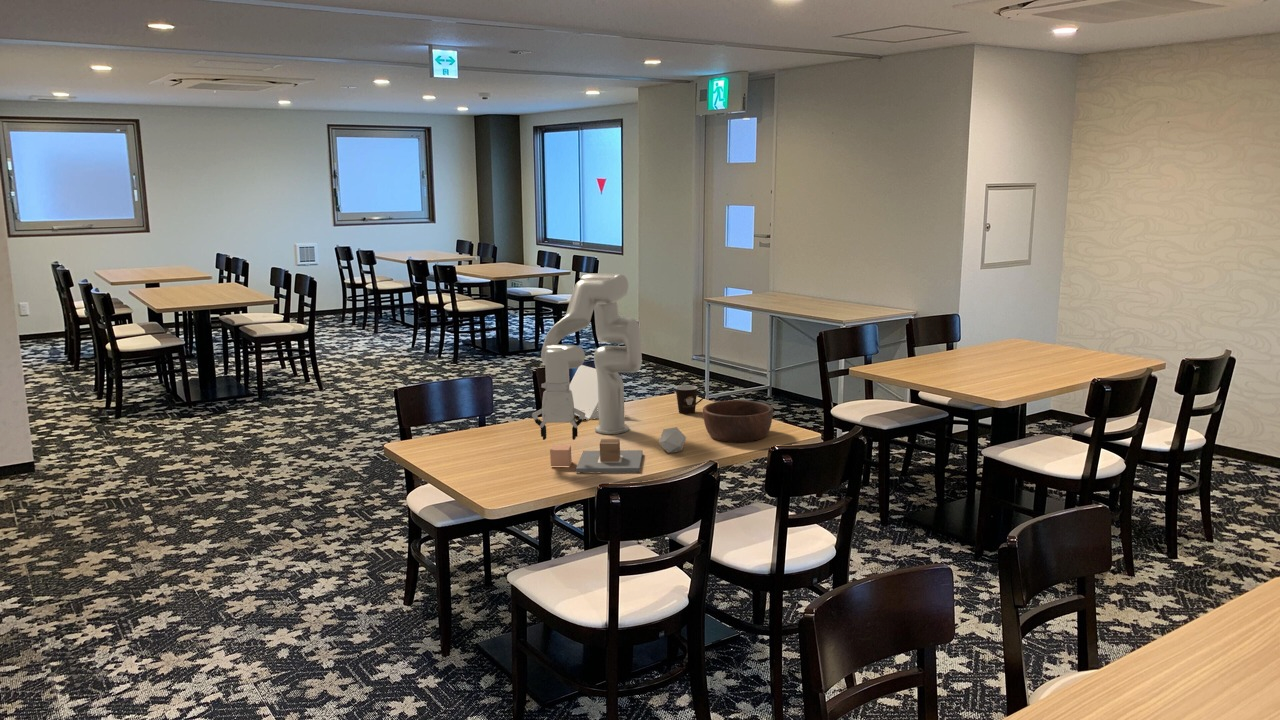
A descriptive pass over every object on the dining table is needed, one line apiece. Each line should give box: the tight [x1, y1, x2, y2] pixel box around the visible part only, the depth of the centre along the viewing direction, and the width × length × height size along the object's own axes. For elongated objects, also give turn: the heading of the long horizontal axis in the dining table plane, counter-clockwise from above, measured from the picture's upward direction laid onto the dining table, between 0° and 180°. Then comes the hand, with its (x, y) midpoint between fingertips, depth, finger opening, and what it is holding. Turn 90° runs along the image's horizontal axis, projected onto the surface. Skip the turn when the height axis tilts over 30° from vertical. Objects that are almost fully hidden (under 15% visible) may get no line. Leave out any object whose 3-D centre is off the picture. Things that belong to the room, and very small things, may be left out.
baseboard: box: [575, 449, 644, 474], centre depth 308 cm, size 20×20×2 cm
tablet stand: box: [569, 364, 599, 421], centre depth 377 cm, size 18×25×17 cm
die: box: [658, 426, 687, 454], centre depth 320 cm, size 8×9×10 cm
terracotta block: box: [549, 444, 573, 467], centre depth 307 cm, size 6×6×6 cm
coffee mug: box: [675, 384, 707, 415], centre depth 372 cm, size 12×9×10 cm
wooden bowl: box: [702, 399, 774, 443], centre depth 337 cm, size 25×25×10 cm
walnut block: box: [599, 438, 621, 462], centre depth 307 cm, size 6×6×6 cm
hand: (559, 438), depth 306 cm, fingers open, 9 cm apart
